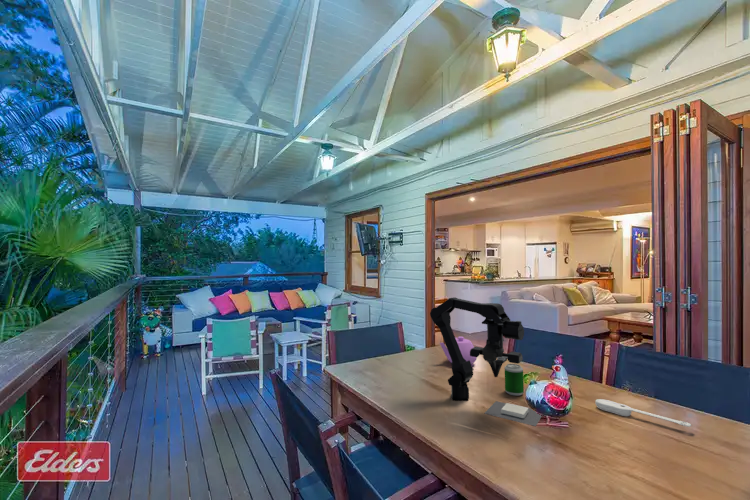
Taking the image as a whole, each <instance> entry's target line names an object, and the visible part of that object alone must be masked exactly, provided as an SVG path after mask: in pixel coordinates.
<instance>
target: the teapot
mask: <svg viewBox="0 0 750 500" xmlns="http://www.w3.org/2000/svg"><path fill="white" fill-rule="evenodd" d="M455 338H456V341H457V344H458V346H459V349H460V351H461V354H462V356H463V358H464V359H465V360H466V361H470V363H471V366H472V367H473V366H474V365H473V364H475V362H476V361H477V358H478V357H472V356H470V350H471V349H472V348H474V347H475V346H474V344H473V343H472V341H471V340H470V339H468V338H465V337H464V336H462V335H461V336H460V335H459V336H458V337H455ZM439 345H440V347H441V349H442V351H443V353H444V355H445V356H446V358H447V360H448V362H449V363H450V364H452V360H451V357H450V355H449V352H448V349H447V347H446V344H445V342H439Z"/></svg>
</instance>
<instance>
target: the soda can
mask: <svg viewBox="0 0 750 500" xmlns="http://www.w3.org/2000/svg"><path fill="white" fill-rule="evenodd" d="M524 387H525V386H524V368H523V367H522V366H521V365H520V364H518V363H507V364H506V365H505V366H504V389H505V390H504V391H505V393H507V394H508V395H510V396H515V397H517V396H522V395H524V394H525V393H524V392H525V390H524V389H525V388H524Z"/></svg>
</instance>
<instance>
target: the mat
mask: <svg viewBox="0 0 750 500" xmlns="http://www.w3.org/2000/svg"><path fill="white" fill-rule="evenodd" d="M506 403H507V402H501V401H497V400H495V402H494V403H492V404H491V406H489V408H488V409H487V410H485V412H484V414H485V415H488V416H493V417H496V418H497V417H498V418H501V419H504V420H509V421H513V422H517V423H521V424H525V425H528V426H529V425H530V426H532V427H536V426H537V425H538V424H539V422H540V420H541V418H542V416H543V415H542V416H541V415H539V414H537V413H536V412H535V411H533V410H532V409H533V408H529V412H528V413H527V415H526V416H525V418H519V417H515V416H511V415H507V414H503V413H501V409H502V408H503V407H504V406H505V404H506Z"/></svg>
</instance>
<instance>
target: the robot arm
mask: <svg viewBox="0 0 750 500" xmlns="http://www.w3.org/2000/svg"><path fill="white" fill-rule="evenodd" d="M454 309H458V310H461V311H467V312H471V313H476V314H478V315H480V316H481V317H483V318H485V319H484V320H482V322H481V324H482V325H486V326H487V327H486V329H487V330H486V332H487V333H486V334H487V338H486V342H485V345H484V347H481V346H474V348H472V349H471V350H470V356H472V357H477V358H478V357H480V356H482V357H483V359H484V361H486V362H487V363H488V364H489V366H490V369H491V371H492V373H493V376H494V378H498V377H499V374H500V372H501V368H502V366H503V364H504V363H505V362H506V361H508V362H509V363H510V364H520V363H521V362H522V361H523V358H524V357H523V354H522V352H518V351H517V352H516V351H510V352H509V353H505V349H504V340H505V339H510V340H517V341H523V339H524V337H525V329H524V325H523V323H522V321H521V320H511V318H510V317H509V315H508V314H507V313H506V312H505V309H504V307H503V305H502V304H500V303H498V302H497V303H493V302H492V303H490V302H489V303H488V302H486V303H481V302H476V301H471V300H466V299H461V298H457V297H449V298H447V299H446V300H445V301H444V302H442V303H441V304H439V305H438V306H436V307H433V308H432V309H431V310H430V312H429V315H430V318H431V320H432V322H433V323H434V324H435V326H436V327H437V328H438V329H439V332H440V333H441V335H442V339H443V343H444V345H445V346H446V348H447V349H448V352H449V355H450V357H451V360H452V363H451V373H452V376H450V377H449V378H448V379H447V382H448V385H449V386H450V387H451V388H450V389H451V390H450V391H451V394H450V397H451V401H455V402H468V401H469V398H470V389H469V386H468V384H467V383H469V382H470V381H471V379H473V376H474V368H473V366H471V363H470V361H466V360H465V359H464V358H463V356H462V354H461V351H460V349H459V346H458V344H457V341H456V338H457V337H456V336H455V334H454V331H453V328H452V325H451V315H450V314H451V313H452V312H453V311H454ZM504 338H505V339H504Z"/></svg>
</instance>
